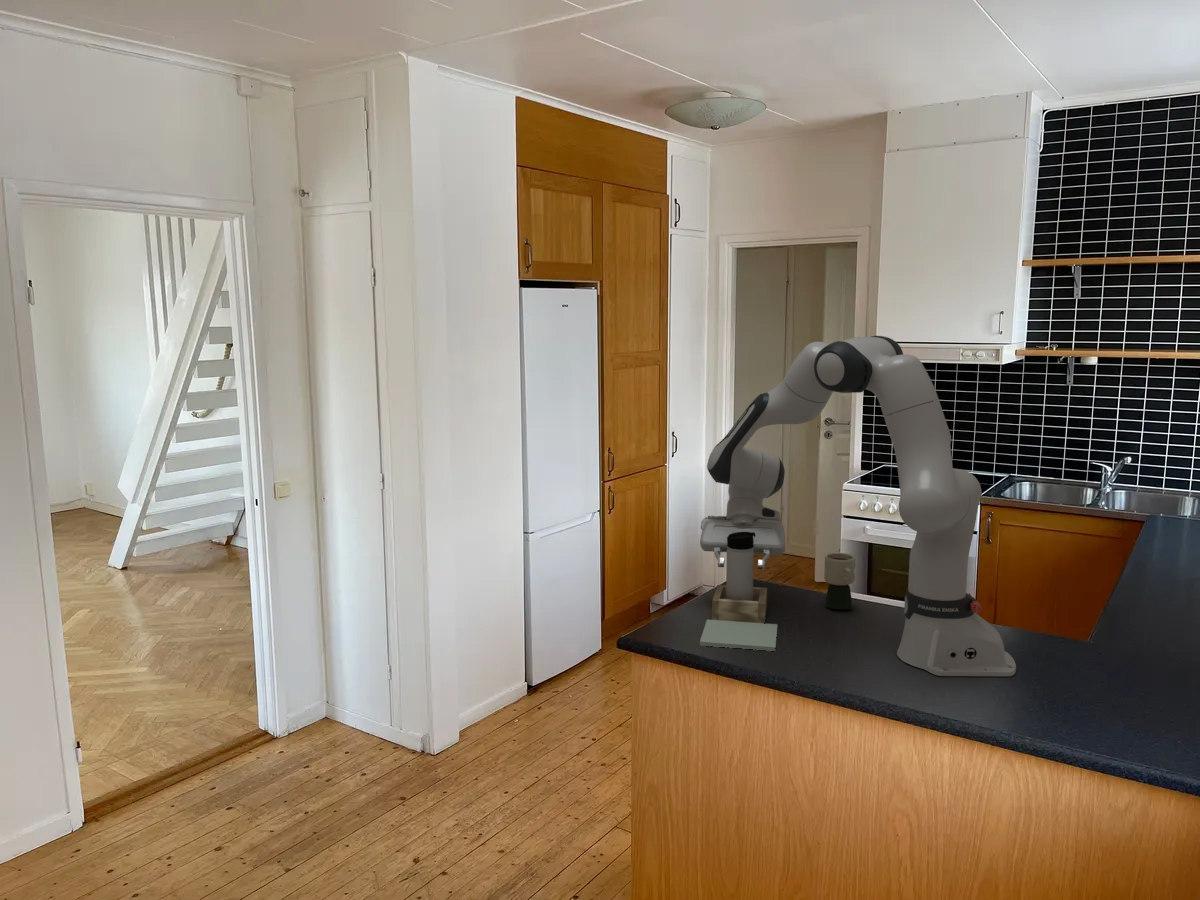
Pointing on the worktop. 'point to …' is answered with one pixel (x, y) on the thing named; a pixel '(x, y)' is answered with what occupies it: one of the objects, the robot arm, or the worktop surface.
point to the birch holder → (739, 606)
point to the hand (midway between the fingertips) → (740, 567)
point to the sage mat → (739, 635)
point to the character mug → (839, 579)
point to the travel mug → (740, 566)
